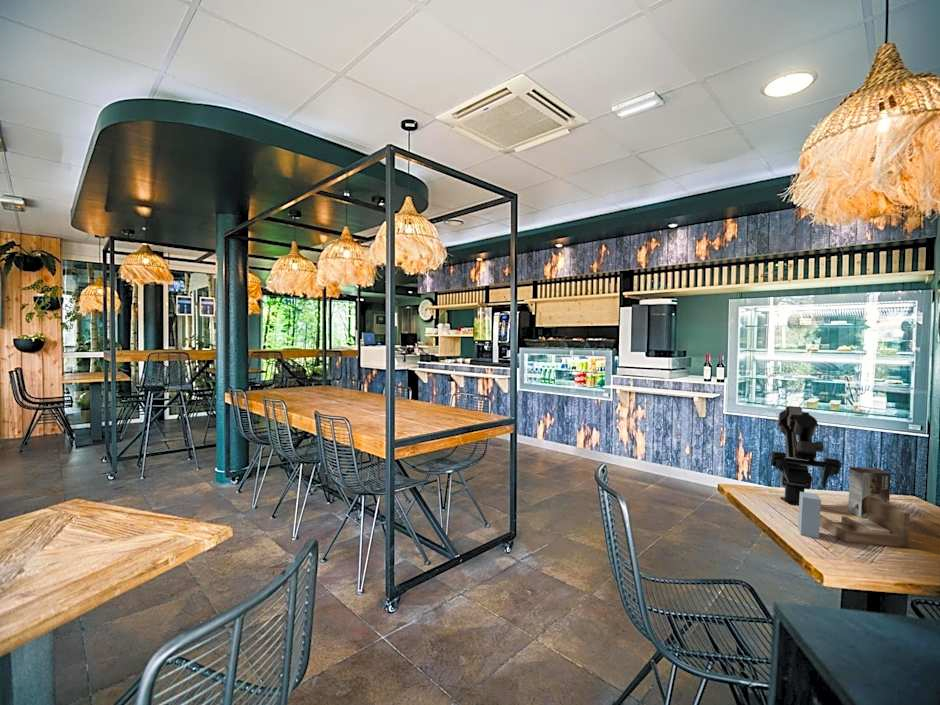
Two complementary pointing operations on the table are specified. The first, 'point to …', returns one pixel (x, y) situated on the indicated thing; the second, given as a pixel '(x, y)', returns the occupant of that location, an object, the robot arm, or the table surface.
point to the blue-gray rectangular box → (809, 514)
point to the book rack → (873, 526)
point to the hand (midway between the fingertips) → (806, 485)
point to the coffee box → (867, 489)
